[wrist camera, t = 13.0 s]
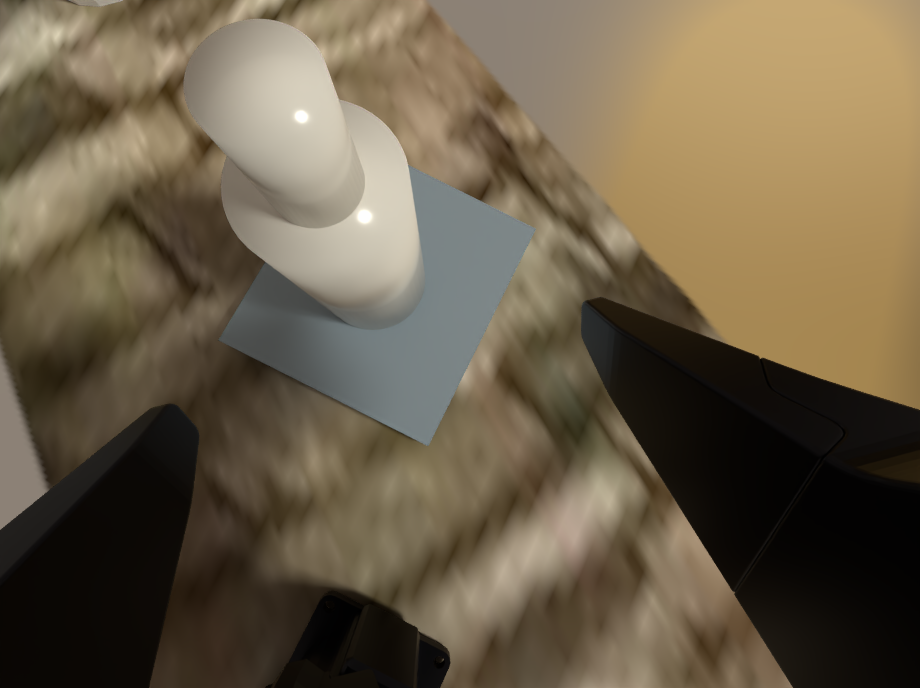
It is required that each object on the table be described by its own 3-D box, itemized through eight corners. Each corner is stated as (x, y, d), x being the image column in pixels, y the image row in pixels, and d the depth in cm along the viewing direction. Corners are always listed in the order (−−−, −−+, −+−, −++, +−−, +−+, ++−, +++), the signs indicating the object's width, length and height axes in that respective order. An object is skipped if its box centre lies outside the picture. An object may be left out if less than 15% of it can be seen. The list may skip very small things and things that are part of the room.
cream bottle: (394, 348, 19) (306, 260, 7) (302, 300, 20) (58, 131, 7) (443, 259, 20) (441, 35, 8) (354, 213, 20) (210, -78, 8)
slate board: (428, 443, 20) (428, 446, 19) (229, 342, 20) (218, 340, 19) (531, 236, 22) (535, 229, 21) (346, 144, 22) (342, 132, 21)
